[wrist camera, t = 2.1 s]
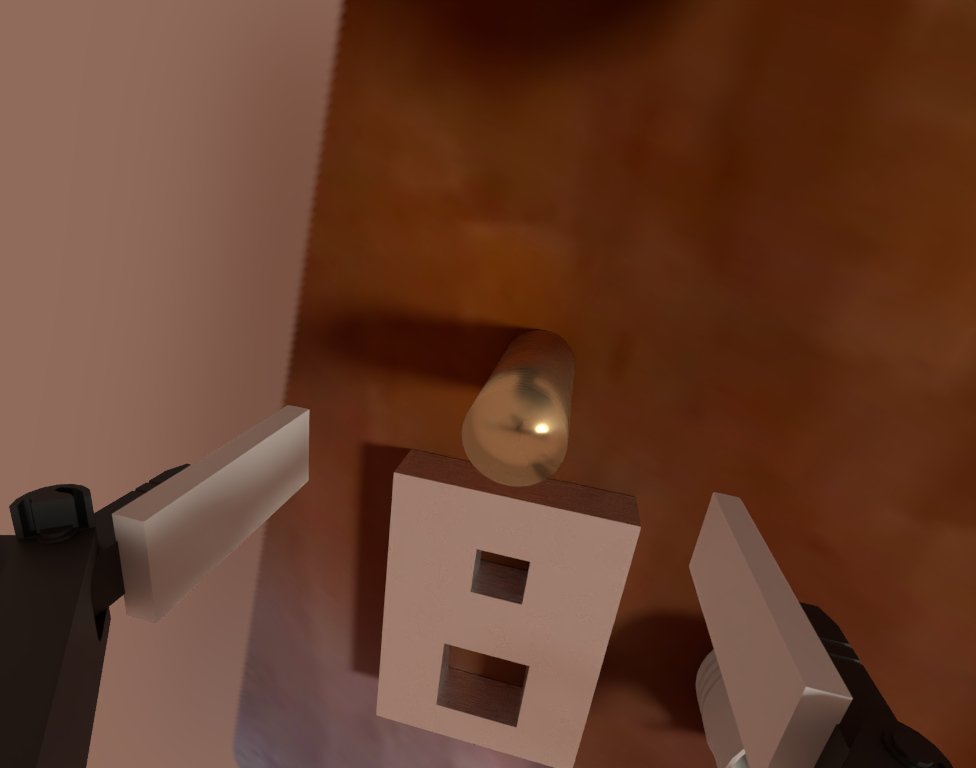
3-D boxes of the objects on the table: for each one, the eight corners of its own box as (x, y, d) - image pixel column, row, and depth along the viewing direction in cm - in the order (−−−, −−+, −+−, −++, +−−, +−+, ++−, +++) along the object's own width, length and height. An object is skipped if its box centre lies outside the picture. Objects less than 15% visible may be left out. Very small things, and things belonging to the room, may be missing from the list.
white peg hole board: (411, 449, 31) (393, 472, 28) (636, 497, 29) (641, 526, 26) (391, 678, 38) (376, 715, 35) (572, 729, 36) (571, 772, 33)
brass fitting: (509, 324, 27) (468, 379, 18) (581, 336, 27) (577, 400, 18) (499, 390, 29) (456, 474, 19) (567, 403, 28) (557, 496, 19)
